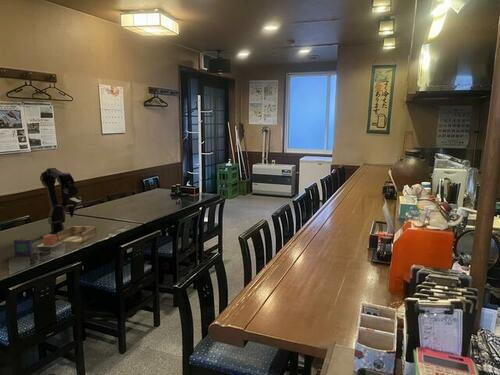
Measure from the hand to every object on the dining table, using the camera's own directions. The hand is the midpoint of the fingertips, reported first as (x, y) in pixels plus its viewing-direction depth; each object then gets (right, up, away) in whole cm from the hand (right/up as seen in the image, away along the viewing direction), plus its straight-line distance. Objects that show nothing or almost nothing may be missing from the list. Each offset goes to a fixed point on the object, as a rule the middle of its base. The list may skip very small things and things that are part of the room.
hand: (67, 218), depth 219 cm
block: (-3, -13, -13) cm, 19 cm away
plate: (-3, -14, -13) cm, 20 cm away
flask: (-9, -17, -29) cm, 35 cm away
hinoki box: (+7, -12, -1) cm, 14 cm away
